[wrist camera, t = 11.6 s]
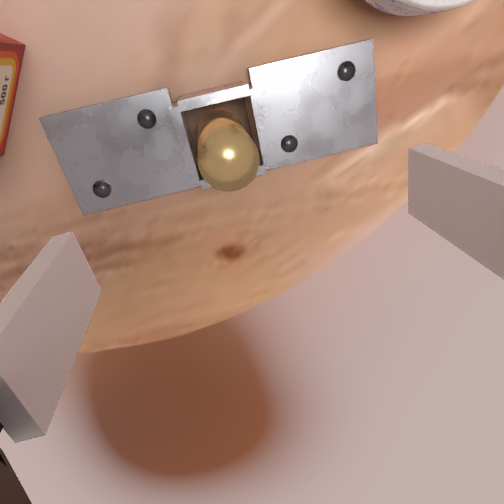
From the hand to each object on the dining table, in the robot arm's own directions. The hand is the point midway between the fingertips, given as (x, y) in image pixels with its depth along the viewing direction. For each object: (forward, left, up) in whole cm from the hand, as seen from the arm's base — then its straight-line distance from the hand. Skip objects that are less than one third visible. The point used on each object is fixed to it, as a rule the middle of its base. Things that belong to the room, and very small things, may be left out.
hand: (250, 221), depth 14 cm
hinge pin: (0, 0, -23) cm, 23 cm away
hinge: (0, 0, -23) cm, 23 cm away
